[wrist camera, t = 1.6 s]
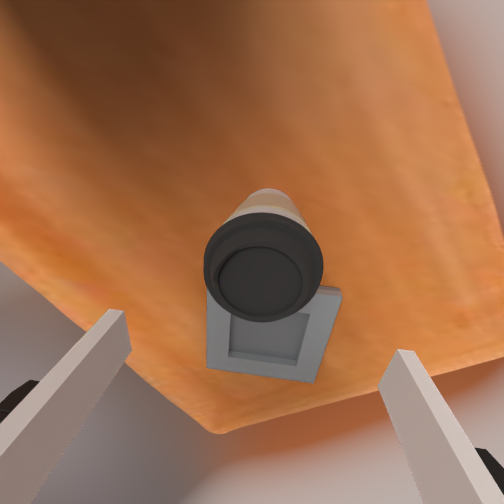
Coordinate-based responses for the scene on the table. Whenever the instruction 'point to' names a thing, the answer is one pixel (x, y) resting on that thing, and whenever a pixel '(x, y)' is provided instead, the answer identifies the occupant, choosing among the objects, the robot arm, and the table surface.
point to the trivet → (273, 339)
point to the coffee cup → (263, 259)
